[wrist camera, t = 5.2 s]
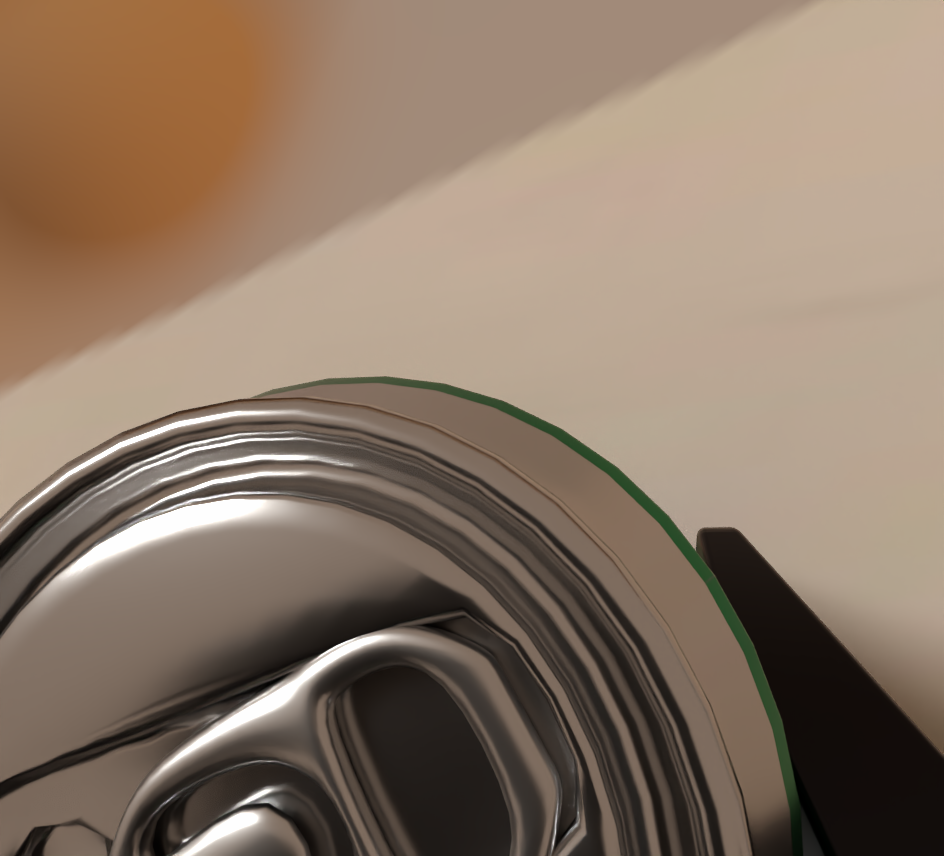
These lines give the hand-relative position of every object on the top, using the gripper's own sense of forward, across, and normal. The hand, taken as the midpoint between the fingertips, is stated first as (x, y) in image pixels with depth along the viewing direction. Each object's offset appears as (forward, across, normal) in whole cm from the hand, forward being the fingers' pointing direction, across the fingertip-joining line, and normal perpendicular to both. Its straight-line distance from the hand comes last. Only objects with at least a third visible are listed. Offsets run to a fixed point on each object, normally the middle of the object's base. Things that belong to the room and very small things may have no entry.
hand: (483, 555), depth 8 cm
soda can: (+4, 0, +6) cm, 7 cm away
